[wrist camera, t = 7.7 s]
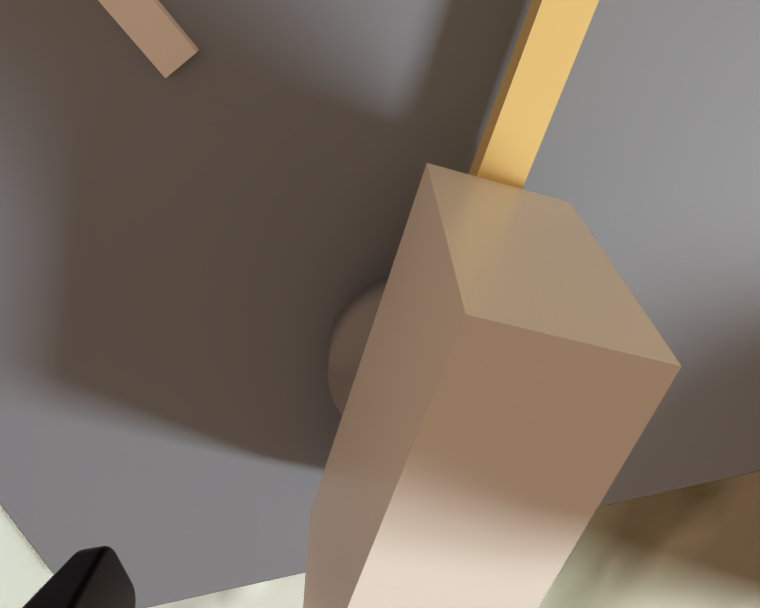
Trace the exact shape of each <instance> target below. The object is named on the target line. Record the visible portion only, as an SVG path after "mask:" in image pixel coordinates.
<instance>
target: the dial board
mask: <svg viewBox="0 0 760 608" xmlns="http://www.w3.org/2000/svg"><path fill="white" fill-rule="evenodd" d="M531 2H532V0H0V504H1V505H2V507H3V508H4V509H5V511H6V512H7V513H8V515H9V516H10V517H11V519H12V520H13V521H14V523H15V524H16V525H17V527H18V528H19V529H20V531H21V532H22V533H23V534H24V536H25V537H26V538H27V540H28V541H29V542H30V544H31V545H32V546H33V548H34V549H35V550H36V552H37V553H38V554H39V556H40V557H41V558H42V560H43V561H44V562H45V564H46V565H47V566H48V567H49V569H50V570H51V571H52V573H53V574H55V573H56V572H57V571H58V570H59V569H60V568H61V567H62V566H63V565H64V564H65V563H66V562H67V561H68V560H69V559H70V558H71V557H72V556H73V555H74V554H75V553H76V552H78V551H80V550H82V549H87V548H93V547H99V546H109V547H111V548H112V549H114V551H115V552H116V554H117V556H118V558H119V560H120V561H121V563H122V565H123V567H124V569H125V571H126V572H127V574H128V576H129V578H130V580H131V582H132V584H133V586H134V589H135V595H136V606H135V608H148V607H152V606H157V605H161V604H166V603H170V602H175V601H179V600H184V599H188V598H193V597H197V596H202V595H206V594H211V593H215V592H220V591H224V590H229V589H233V588H237V587H242V586H246V585H251V584H255V583H260V582H264V581H269V580H273V579H278V578H282V577H287V576H291V575H296V574H300V573H305V572H306V564H307V550H308V536H309V523H310V511H311V508H312V505H313V502H314V499H315V496H316V493H317V490H318V487H319V484H320V481H321V478H322V475H323V472H324V469H325V466H326V463H327V460H328V457H329V454H330V451H331V448H332V445H333V442H334V439H335V436H336V433H337V430H338V427H339V424H340V421H341V418H342V415H341V413H340V412H339V410H338V408H337V407H336V405H335V403H334V401H333V398H332V396H331V392H330V389H329V383H328V364H329V347H330V339H331V335H332V331H333V328H334V326H335V323H336V321H337V319H338V318H339V316H340V314H341V312H342V311H343V310H344V308H345V307H346V306H347V305H348V303H349V302H350V301H351V300H352V299H353V298H354V297H355V296H356V295H358V294H359V293H360V292H362V291H363V290H364V289H366V288H367V287H369V286H371V285H372V284H374V283H376V282H378V281H380V280H383V279H385V278H387V277H389V275H390V272H391V269H392V266H393V263H394V260H395V257H396V254H397V251H398V248H399V245H400V242H401V239H402V236H403V233H404V230H405V227H406V224H407V221H408V218H409V215H410V212H411V209H412V206H413V203H414V200H415V197H416V194H417V191H418V188H419V185H420V182H421V179H422V176H423V173H424V170H425V167H426V164H427V163H430V164H433V165H437V166H440V167H444V168H448V169H451V170H455V171H459V172H462V173H466V174H469V171H470V169H471V166H472V163H473V160H474V158H475V155H476V152H477V150H478V147H479V144H480V141H481V139H482V136H483V133H484V130H485V128H486V125H487V122H488V119H489V117H490V114H491V111H492V108H493V106H494V103H495V100H496V98H497V95H498V92H499V89H500V87H501V84H502V81H503V78H504V76H505V73H506V70H507V67H508V65H509V62H510V59H511V57H512V54H513V51H514V48H515V46H516V43H517V40H518V37H519V35H520V32H521V29H522V26H523V24H524V21H525V18H526V15H527V13H528V10H529V7H530V5H531ZM522 189H524V190H528V191H531V192H535V193H539V194H542V195H546V196H550V197H553V198H557V199H561V200H564V201H568V202H570V203H571V204H572V206H573V207H574V209H575V210H576V212H577V213H578V215H579V216H580V218H581V219H582V221H583V222H584V223H585V225H586V226H587V228H588V229H589V231H590V232H591V234H592V235H593V237H594V238H595V240H596V241H597V243H598V244H599V246H600V247H601V248H602V250H603V251H604V253H605V254H606V256H607V257H608V259H609V260H610V262H611V263H612V265H613V266H614V268H615V269H616V270H617V272H618V273H619V275H620V276H621V278H622V279H623V281H624V282H625V284H626V285H627V287H628V288H629V290H630V291H631V293H632V294H633V295H634V297H635V298H636V300H637V301H638V303H639V304H640V306H641V307H642V309H643V310H644V312H645V313H646V315H647V316H648V318H649V319H650V320H651V322H652V323H653V325H654V326H655V328H656V329H657V331H658V332H659V334H660V335H661V337H662V338H663V340H664V341H665V343H666V344H667V345H668V347H669V348H670V350H671V351H672V353H673V354H674V356H675V357H676V359H677V360H678V362H679V363H680V365H681V366H682V367H681V368H680V370H679V372H678V373H677V375H676V377H675V378H674V380H673V382H672V383H671V385H670V387H669V388H668V390H667V392H666V393H665V395H664V397H663V399H662V400H661V402H660V404H659V405H658V407H657V409H656V410H655V412H654V414H653V415H652V417H651V419H650V420H649V422H648V424H647V425H646V427H645V429H644V430H643V432H642V434H641V436H640V437H639V439H638V441H637V442H636V444H635V446H634V447H633V449H632V451H631V452H630V454H629V456H628V457H627V459H626V461H625V462H624V464H623V466H622V467H621V469H620V471H619V472H618V474H617V476H616V478H615V479H614V481H613V483H612V484H611V486H610V488H609V489H608V491H607V493H606V494H605V496H604V498H603V499H602V501H601V503H600V504H599V506H598V507H600V506H605V505H609V504H614V503H618V502H623V501H627V500H632V499H636V498H640V497H645V496H649V495H654V494H658V493H663V492H667V491H672V490H676V489H681V488H685V487H690V486H694V485H699V484H703V483H708V482H712V481H717V480H721V479H726V478H730V477H735V476H739V475H743V474H748V473H752V472H757V471H760V0H599V2H598V4H597V7H596V9H595V12H594V14H593V17H592V19H591V21H590V24H589V26H588V29H587V31H586V34H585V36H584V39H583V41H582V44H581V46H580V48H579V51H578V53H577V56H576V58H575V61H574V63H573V66H572V68H571V71H570V73H569V75H568V78H567V80H566V83H565V85H564V88H563V90H562V93H561V95H560V98H559V100H558V102H557V105H556V107H555V110H554V112H553V115H552V117H551V120H550V122H549V125H548V127H547V129H546V132H545V134H544V137H543V139H542V142H541V144H540V147H539V149H538V152H537V154H536V156H535V159H534V161H533V164H532V166H531V169H530V171H529V174H528V176H527V179H526V181H525V183H524V186H523V188H522Z"/></svg>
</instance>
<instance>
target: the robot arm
mask: <svg viewBox="0 0 760 608" xmlns="http://www.w3.org/2000/svg"><path fill="white" fill-rule="evenodd" d="M135 606H136V595H135V589H134V586H133V584H132V582H131V580H130V578H129V576H128V574H127V572H126V571H125V569H124V567H123V565H122V563H121V561H120V560H119V558H118V556H117V554H116V552H115V551H114V549H112V548H111V547H109V546H99V547H93V548H87V549H82V550H80V551H78V552H76V553H75V554H74V555H73V556H72V557H71V558H70V559H69V560H68V561H67V562H66V563H65V564H64V565H63V566H62V567H61V568H60V569H59V570H58V571H57V572H56V573H55V574H54V575H53V576H52V577H51V578H50V579H49V580H48V582H47V583H46V584H45V585H44V586H43V587H42V588H41V589H40V590H39V591H38V592H37V593H36V594H35V595H34V596H33V597H32V598H31V599H30V600H29V601H28V602H27V603H26V604H25V605H24V606H23V607H22V608H135Z"/></svg>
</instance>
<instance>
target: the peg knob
mask: <svg viewBox="0 0 760 608" xmlns="http://www.w3.org/2000/svg"><path fill="white" fill-rule="evenodd" d="M598 2H599V0H532V2H531V5H530V7H529V10H528V13H527V15H526V18H525V21H524V24H523V26H522V29H521V32H520V35H519V37H518V40H517V43H516V46H515V48H514V51H513V54H512V57H511V59H510V62H509V65H508V67H507V70H506V73H505V76H504V78H503V81H502V84H501V87H500V89H499V92H498V95H497V98H496V100H495V103H494V106H493V108H492V111H491V114H490V117H489V119H488V122H487V125H486V128H485V130H484V133H483V136H482V139H481V141H480V144H479V147H478V150H477V152H476V155H475V158H474V160H473V163H472V166H471V169H470V171H469V174H466V173H462V172H459V171H455V170H451V169H448V168H444V167H440V166H437V165H433V164H430V163H427V164H426V167H425V170H424V173H423V176H422V179H421V182H420V185H419V188H418V191H417V194H416V197H415V200H414V203H413V206H412V209H411V212H410V215H409V218H408V221H407V224H406V227H405V230H404V233H403V236H402V239H401V242H400V245H399V248H398V251H397V254H396V257H395V260H394V263H393V266H392V269H391V272H390V275H389V277H387V278H385V279H383V280H380V281H378V282H376V283H374V284H372V285H371V286H369V287H367V288H366V289H364V290H363V291H362V292H360V293H359V294H358V295H356V296H355V297H354V298H353V299H352V300H351V301H350V302H349V303H348V305H347V306H346V307H345V308H344V310H343V311H342V312H341V314H340V316H339V318H338V319H337V321H336V323H335V326H334V328H333V331H332V335H331V339H330V347H329V364H328V383H329V389H330V392H331V396H332V398H333V401H334V403H335V405H336V407H337V408H338V410H339V412H340V413H341V415H342V418H341V421H340V424H339V427H338V430H337V433H336V436H335V439H334V442H333V445H332V448H331V451H330V454H329V457H328V460H327V463H326V466H325V469H324V472H323V475H322V478H321V481H320V484H319V487H318V490H317V493H316V496H315V499H314V502H313V505H312V508H311V511H310V523H309V536H308V550H307V564H306V577H305V591H304V605H303V608H538V607H539V605H540V604H541V602H542V600H543V599H544V597H545V595H546V594H547V592H548V590H549V588H550V587H551V585H552V583H553V582H554V580H555V578H556V577H557V575H558V573H559V572H560V570H561V568H562V567H563V565H564V563H565V562H566V560H567V558H568V557H569V555H570V553H571V552H572V550H573V548H574V546H575V545H576V543H577V541H578V540H579V538H580V536H581V535H582V533H583V531H584V530H585V528H586V526H587V525H588V523H589V521H590V520H591V518H592V516H593V515H594V513H595V511H596V509H597V508H598V506H599V504H600V503H601V501H602V499H603V498H604V496H605V494H606V493H607V491H608V489H609V488H610V486H611V484H612V483H613V481H614V479H615V478H616V476H617V474H618V472H619V471H620V469H621V467H622V466H623V464H624V462H625V461H626V459H627V457H628V456H629V454H630V452H631V451H632V449H633V447H634V446H635V444H636V442H637V441H638V439H639V437H640V436H641V434H642V432H643V430H644V429H645V427H646V425H647V424H648V422H649V420H650V419H651V417H652V415H653V414H654V412H655V410H656V409H657V407H658V405H659V404H660V402H661V400H662V399H663V397H664V395H665V393H666V392H667V390H668V388H669V387H670V385H671V383H672V382H673V380H674V378H675V377H676V375H677V373H678V372H679V370H680V368H681V367H682V366H681V365H680V363H679V362H678V360H677V359H676V357H675V356H674V354H673V353H672V351H671V350H670V348H669V347H668V345H667V344H666V343H665V341H664V340H663V338H662V337H661V335H660V334H659V332H658V331H657V329H656V328H655V326H654V325H653V323H652V322H651V320H650V319H649V318H648V316H647V315H646V313H645V312H644V310H643V309H642V307H641V306H640V304H639V303H638V301H637V300H636V298H635V297H634V295H633V294H632V293H631V291H630V290H629V288H628V287H627V285H626V284H625V282H624V281H623V279H622V278H621V276H620V275H619V273H618V272H617V270H616V269H615V268H614V266H613V265H612V263H611V262H610V260H609V259H608V257H607V256H606V254H605V253H604V251H603V250H602V248H601V247H600V246H599V244H598V243H597V241H596V240H595V238H594V237H593V235H592V234H591V232H590V231H589V229H588V228H587V226H586V225H585V223H584V222H583V221H582V219H581V218H580V216H579V215H578V213H577V212H576V210H575V209H574V207H573V206H572V204H571V203H570V202H568V201H564V200H561V199H557V198H553V197H550V196H546V195H542V194H539V193H535V192H531V191H528V190H524V189H522V188H523V186H524V183H525V181H526V179H527V176H528V174H529V171H530V169H531V166H532V164H533V161H534V159H535V156H536V154H537V152H538V149H539V147H540V144H541V142H542V139H543V137H544V134H545V132H546V129H547V127H548V125H549V122H550V120H551V117H552V115H553V112H554V110H555V107H556V105H557V102H558V100H559V98H560V95H561V93H562V90H563V88H564V85H565V83H566V80H567V78H568V75H569V73H570V71H571V68H572V66H573V63H574V61H575V58H576V56H577V53H578V51H579V48H580V46H581V44H582V41H583V39H584V36H585V34H586V31H587V29H588V26H589V24H590V21H591V19H592V17H593V14H594V12H595V9H596V7H597V4H598Z"/></svg>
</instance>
